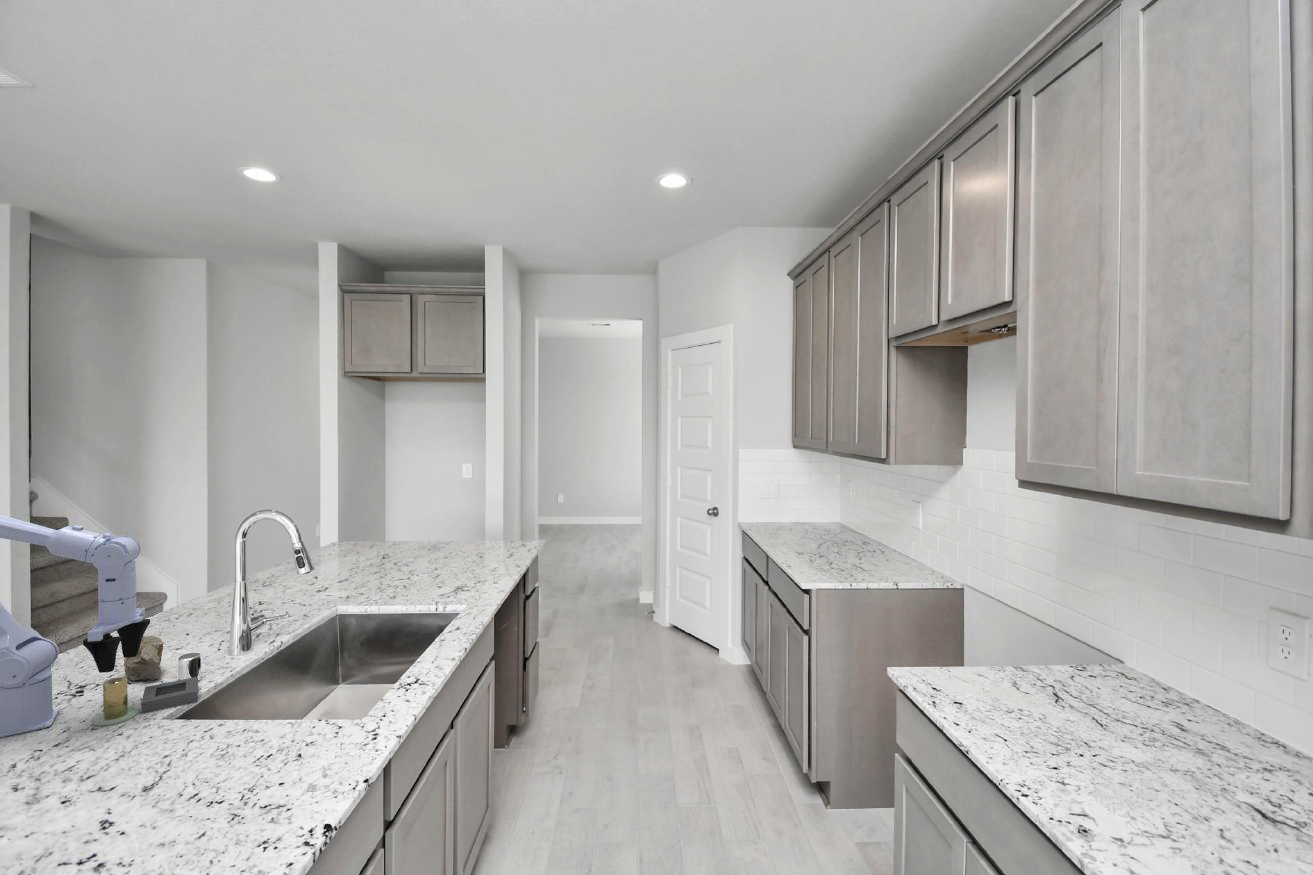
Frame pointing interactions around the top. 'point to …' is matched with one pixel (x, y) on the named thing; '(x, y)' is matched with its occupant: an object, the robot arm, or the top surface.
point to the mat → (101, 721)
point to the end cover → (115, 698)
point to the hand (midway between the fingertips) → (118, 663)
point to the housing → (169, 694)
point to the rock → (145, 660)
